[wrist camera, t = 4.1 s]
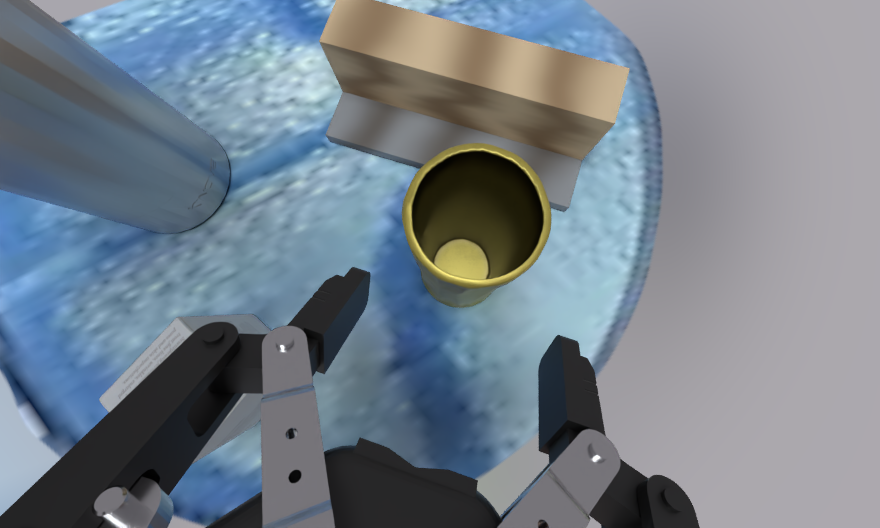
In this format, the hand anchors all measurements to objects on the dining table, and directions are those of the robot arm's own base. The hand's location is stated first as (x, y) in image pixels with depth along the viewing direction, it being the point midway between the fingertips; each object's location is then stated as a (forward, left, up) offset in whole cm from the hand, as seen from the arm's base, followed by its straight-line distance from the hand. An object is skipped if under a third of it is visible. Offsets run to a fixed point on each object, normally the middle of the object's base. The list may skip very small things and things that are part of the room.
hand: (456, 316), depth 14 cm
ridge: (-4, +16, -11) cm, 20 cm away
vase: (-1, +4, -12) cm, 12 cm away
